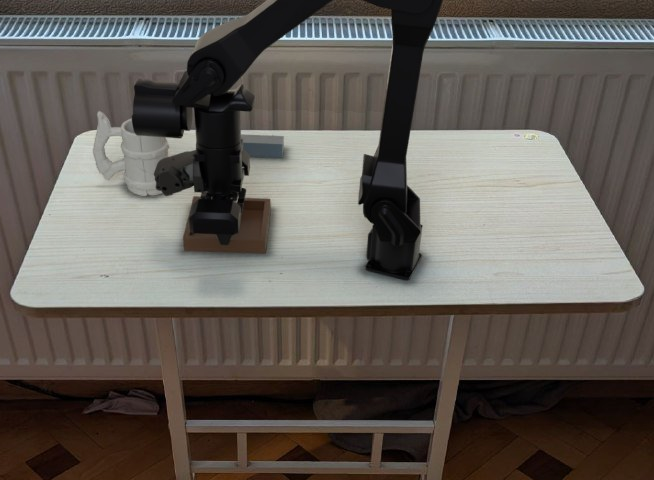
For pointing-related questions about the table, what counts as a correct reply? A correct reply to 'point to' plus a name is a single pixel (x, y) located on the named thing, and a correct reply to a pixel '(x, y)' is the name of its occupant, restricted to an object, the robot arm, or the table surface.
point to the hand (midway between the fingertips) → (224, 244)
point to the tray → (245, 241)
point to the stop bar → (263, 145)
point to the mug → (130, 156)
